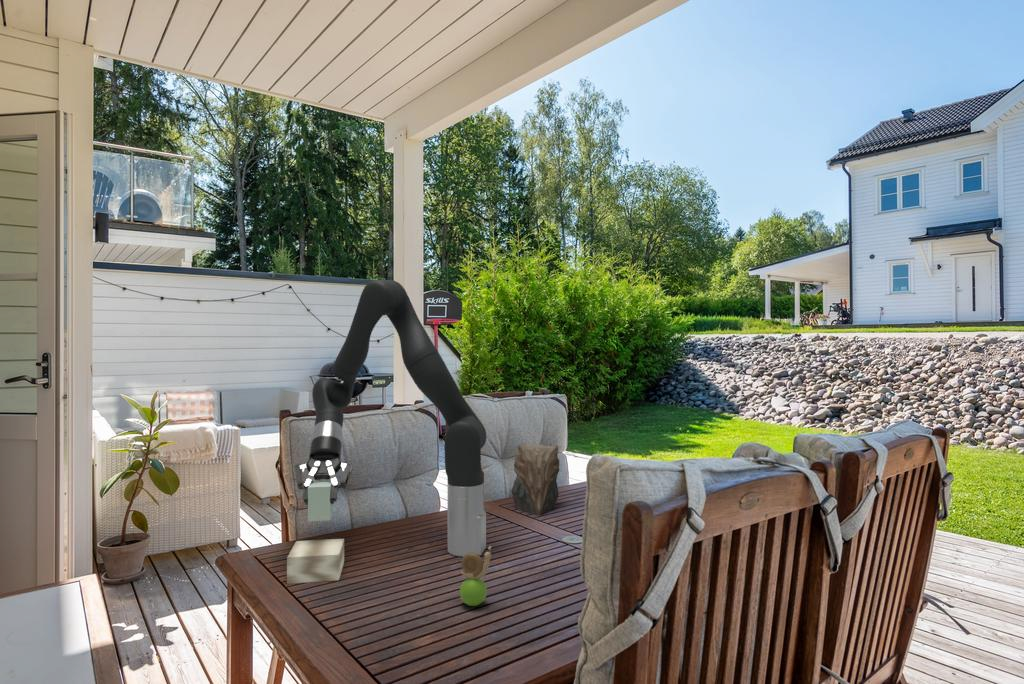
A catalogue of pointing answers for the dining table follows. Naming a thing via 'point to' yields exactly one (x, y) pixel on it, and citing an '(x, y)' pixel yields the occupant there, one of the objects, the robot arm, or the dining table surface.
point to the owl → (536, 478)
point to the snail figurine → (474, 578)
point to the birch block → (315, 561)
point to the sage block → (319, 501)
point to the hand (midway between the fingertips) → (319, 502)
